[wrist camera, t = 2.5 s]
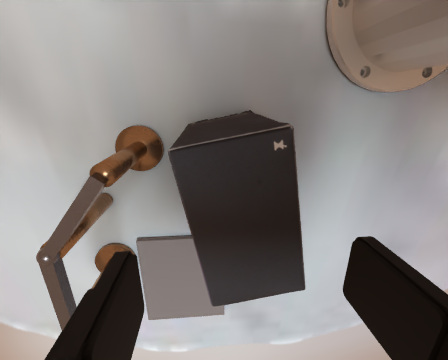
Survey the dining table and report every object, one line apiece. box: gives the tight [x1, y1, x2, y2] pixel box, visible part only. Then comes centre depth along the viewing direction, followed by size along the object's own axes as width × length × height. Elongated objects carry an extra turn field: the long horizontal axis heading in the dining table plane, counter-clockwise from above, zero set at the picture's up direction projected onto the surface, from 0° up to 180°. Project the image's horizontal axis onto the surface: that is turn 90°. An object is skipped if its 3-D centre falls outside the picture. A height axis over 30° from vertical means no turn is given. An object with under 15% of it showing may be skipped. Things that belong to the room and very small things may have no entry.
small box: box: [168, 110, 305, 307], centre depth 17 cm, size 11×6×10 cm, turn 11°
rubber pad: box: [136, 236, 224, 320], centre depth 25 cm, size 9×11×1 cm
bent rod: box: [36, 125, 163, 331], centre depth 18 cm, size 5×17×9 cm, turn 162°
